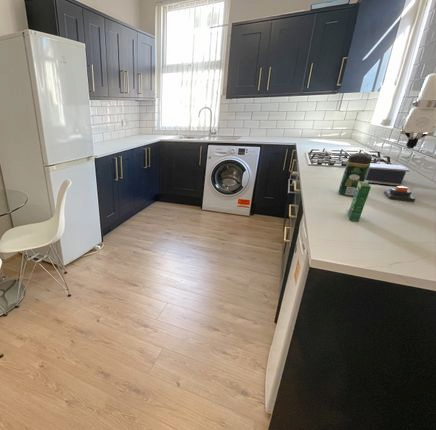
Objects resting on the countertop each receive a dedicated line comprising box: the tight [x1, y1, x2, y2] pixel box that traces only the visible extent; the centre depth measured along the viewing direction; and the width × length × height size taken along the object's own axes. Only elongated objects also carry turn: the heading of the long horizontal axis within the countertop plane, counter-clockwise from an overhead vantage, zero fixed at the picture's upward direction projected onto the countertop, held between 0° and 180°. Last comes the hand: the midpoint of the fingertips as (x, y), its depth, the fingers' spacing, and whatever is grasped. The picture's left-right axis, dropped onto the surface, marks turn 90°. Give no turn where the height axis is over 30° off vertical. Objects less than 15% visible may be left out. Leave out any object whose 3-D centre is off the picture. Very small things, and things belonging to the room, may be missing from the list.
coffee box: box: [347, 181, 372, 222], centre depth 100 cm, size 8×3×13 cm, turn 145°
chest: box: [364, 168, 407, 188], centre depth 144 cm, size 14×12×8 cm
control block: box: [383, 187, 416, 203], centre depth 123 cm, size 10×8×4 cm
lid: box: [369, 162, 410, 173], centre depth 142 cm, size 14×12×1 cm
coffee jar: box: [338, 152, 373, 197], centre depth 125 cm, size 10×8×19 cm
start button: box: [395, 185, 409, 192], centre depth 122 cm, size 4×4×2 cm
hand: (409, 147), depth 128 cm, fingers closed
